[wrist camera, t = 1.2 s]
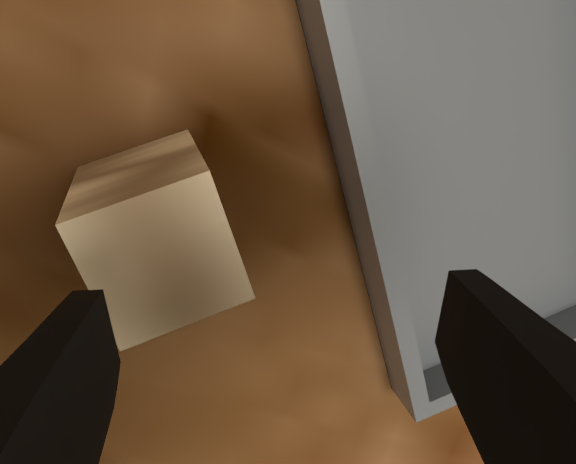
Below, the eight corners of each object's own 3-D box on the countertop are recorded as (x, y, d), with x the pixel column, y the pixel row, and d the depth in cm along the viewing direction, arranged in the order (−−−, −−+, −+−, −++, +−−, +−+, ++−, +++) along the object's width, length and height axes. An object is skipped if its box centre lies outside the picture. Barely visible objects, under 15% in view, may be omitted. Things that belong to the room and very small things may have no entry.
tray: (391, 388, 26) (416, 422, 23) (279, -64, 17) (301, -77, 15) (599, 298, 27) (641, 322, 25) (589, -155, 19) (650, -179, 17)
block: (123, 263, 20) (120, 351, 15) (77, 166, 18) (55, 225, 13) (223, 226, 20) (255, 298, 15) (187, 129, 19) (209, 170, 13)
